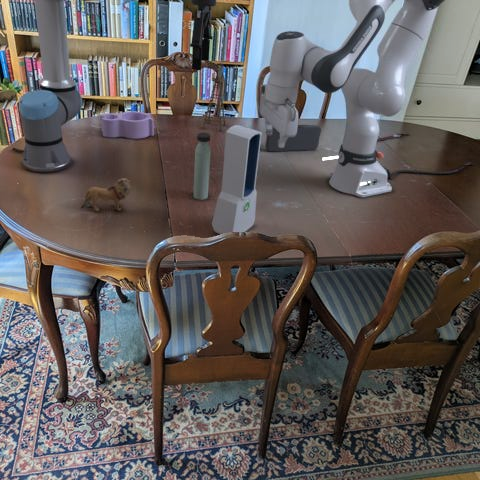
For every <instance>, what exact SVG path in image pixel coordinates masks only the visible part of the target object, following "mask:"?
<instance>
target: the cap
mask: <svg viewBox="0 0 480 480" xmlns="http://www.w3.org/2000/svg"><path fill="white" fill-rule="evenodd" d="M196 140H197V141H198V142H199V141H200V142H208V143H209V142H210V141H211V134H210V133H208V132H199V133H197V135H196Z"/></svg>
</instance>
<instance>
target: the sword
mask: <svg viewBox="0 0 480 480" xmlns="http://www.w3.org/2000/svg"><path fill="white" fill-rule="evenodd" d="M401 134H402V133H396V134H392V135H389V136H383V137H378V139H377V142H381V141H384V140H389V139H393V138H400V137H402V136H406V135H409V134H404V135H401Z"/></svg>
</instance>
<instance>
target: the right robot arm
mask: <svg viewBox="0 0 480 480" xmlns="http://www.w3.org/2000/svg"><path fill="white" fill-rule="evenodd" d="M444 1H446V0H403V3H402V6H401V8H400V9H399V10H398V11H397V13H396V15H395V16H394V18H393V20H392V21H391V23H390V24H389V26H388V28H387V30H386V32H385V33H384V36H383V37H382V38H381V41H379V44H378V45H377V48H376V53H377V56H378V62H377V67H376V69H375V72H374V71H373V70H371V69H367V68H361V67H356V65H357V64H358V62H359V61H360V59H361V58H362V56H363V55H364V54H365V52H366V51H367V50H368V48H369V46H370V45H372V42H373V41H374V39H375V38H376V37H377V35H378V34H379V32H380V30H381V29H382V27H383V25H384V24H385V23H384V22H385V19H386V12H387V11H388V10H389V8H391V6H392V5H393V4H394V2H396V0H348V6H349V10H350V13H351V15H352V16H353V19H355V21H356V23H355V25H354V28H353V29H352V30H351V31H350V33H349V34H348V36H347V37H346V39H345V40H344V41H343V43H342V44H341V46H340V47H339V48H337V49H336V50H335V49H334V50H332V51H331V50H328V49H325V48H323V47H321V46H318V45H317V44H315V43H313V42H312V41H310V40H309V39H308V38H307V37H306V36H305V34H304V33H303V32H301V31H295V30H294V31H291V30H289V31H282V32H280V33H279V34H278V35H276V37H275V38H274V41H273V43H272V49H271V52H270V53H271V54H270V59H269V75H268V78H267V82H266V84H261V85H260V89H259V91H260V100H259V114H260V116H261V117H262V118H263V119H264V126H265V135H266V137H267V136H272V133H273V130H272V126H273V127H274V128H275V129H276V130H277V131H278V132H279V133H280V139H279V140H278V141H277V146H278V147H279V148H284V146H285V142H286V140H287V139H288V137H295V135H296V133H297V127H298V125H299V111H298V109H297V107H296V104H297V103H296V102H297V98H298V93H299V86H300V82H301V81H304V82H306V83H308V84H310V85H312V86H314V87H315V88H316V89H318V90H320V91H321V92H323V93H325V94H334V93H336V92H338V91H339V90H341V93H342V95H343V98H344V102H345V115H346V121H345V130H344V134H343V138H342V143H341V144H340V146H339V147H340V148H339V151H338V155H334V156H327V157H322V161H328V160H335V159H337V163H336V165H335V168H334V170H333V173H332V175H331V177H330V178H329V181H328V183H329V185H330V186H331V187H332V188H333V189H335V190H336V191H338V192H342V193H344V194H348V195H353V196H355V197H358V198H368V197H371V196H372V197H373V196H376V195H377V196H378V195H381V194H386V193H391V192H392V190H393V187H392V185H391V183H390V182H388V179H389V180H392V179H393V178H394V177H395V176H396V175H397V174H399V173H401V174H402V173H409V174H424V175H425V174H426V175H451V174H455V173H458V172H459V171H461V170H463V169H464V168H466V167H467V166H465V167H462V168H460V169H459V170H458V168H456V169H453V170H450V171H427V170H412V169H411V170H410V169H399V170H398V169H397V170H396V171H394V172H393V173H391V171H390V169H389V168H387V167H385V166H384V165H382V164H380V163H379V161H378V160H382V159H383V158H384V157H385V156H384V154H383V153H382V152H381V151H377V150H376V146H377V142H378V141H377V139H379V135H380V124H379V122H378V120H377V116H382V117H388V118H389V117H393V116H395V115H397V114H398V113H399V112H400V111H402V109H403V107H404V105H405V103H406V99H407V94H406V89H405V79H406V75H407V72H408V69H409V66H410V63H411V62H412V60H413V58H414V57H415V55H416V54H417V52H418V50H419V48H420V46H421V44H422V43H423V42H424V40H425V38H426V36H427V34H428V32H429V30H431V29H430V28H431V26H432V25H433V22H434V21H435V20H434V19H435V17H436V15H437V11H438V7H439V6H441V5H442V4H443V3H444ZM376 115H377V116H376ZM377 159H378V160H377ZM471 163H472V162H470V161H469V162H467V163H465V164H464V165H468V166H471V167H474V163H473V164H471ZM469 164H470V165H469Z"/></svg>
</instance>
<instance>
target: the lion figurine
mask: <svg viewBox="0 0 480 480" xmlns="http://www.w3.org/2000/svg"><path fill="white" fill-rule="evenodd" d="M131 186H132V185H131V180H129V179H128V178H126V177H122V178H119V179H118V180H117V182H115V183H114V184H113V185H111V186H110V187H108V188H103V187H98V186H92V187H90V188H88V189H87V190H86V193H85V195H84V200H83V201H84V202H83V203H82V205H81V206H80V209H84V207H85V206H86V207H92V208H93V209H94V211H95V212H100V208H99V207H97V202H98V199H101V200H102V201H107V202H108V201H113V206H114V207H115V209H116V211H118V212H120V211H121V210H122V208H121V207H120V201H122V200H125V199H126V198H127V196H128V195H129V194H130V192H131V188H132V187H131ZM90 202H92V203H90Z"/></svg>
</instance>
